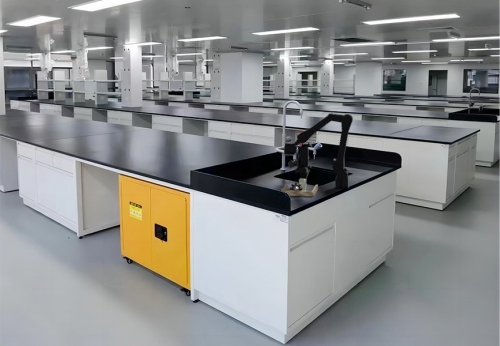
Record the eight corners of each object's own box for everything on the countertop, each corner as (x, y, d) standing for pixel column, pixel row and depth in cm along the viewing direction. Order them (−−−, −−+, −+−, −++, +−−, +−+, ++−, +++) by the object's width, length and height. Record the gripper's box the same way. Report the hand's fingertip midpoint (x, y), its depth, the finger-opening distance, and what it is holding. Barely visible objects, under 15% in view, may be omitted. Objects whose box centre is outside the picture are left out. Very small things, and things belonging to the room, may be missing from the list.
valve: (298, 190, 231) (289, 194, 221) (298, 178, 230) (289, 182, 220) (310, 190, 228) (301, 195, 218) (309, 178, 227) (301, 183, 217)
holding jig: (317, 189, 230) (317, 184, 230) (313, 196, 215) (313, 191, 215) (286, 188, 235) (286, 184, 235) (280, 195, 220) (280, 190, 219)
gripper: (291, 152, 246) (292, 179, 249) (285, 157, 229) (286, 186, 231) (311, 152, 243) (311, 179, 246) (306, 157, 226) (306, 186, 228)
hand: (303, 183), depth 238 cm, fingers closed
